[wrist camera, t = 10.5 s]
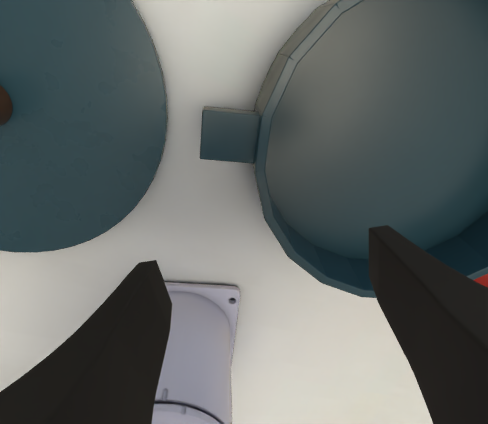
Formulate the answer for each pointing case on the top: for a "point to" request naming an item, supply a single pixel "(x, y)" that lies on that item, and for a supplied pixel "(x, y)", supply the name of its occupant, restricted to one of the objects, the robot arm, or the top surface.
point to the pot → (370, 136)
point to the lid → (75, 119)
